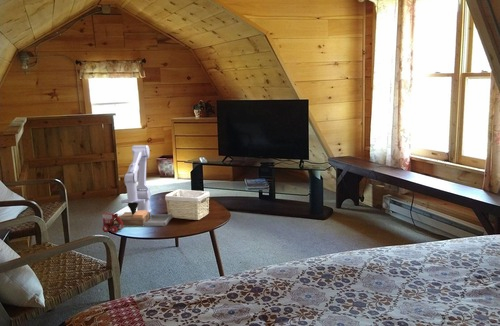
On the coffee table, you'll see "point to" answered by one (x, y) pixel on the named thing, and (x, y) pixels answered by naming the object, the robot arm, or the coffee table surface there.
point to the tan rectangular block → (140, 214)
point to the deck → (133, 219)
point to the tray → (158, 220)
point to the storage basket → (188, 204)
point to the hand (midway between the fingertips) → (133, 214)
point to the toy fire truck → (111, 222)
